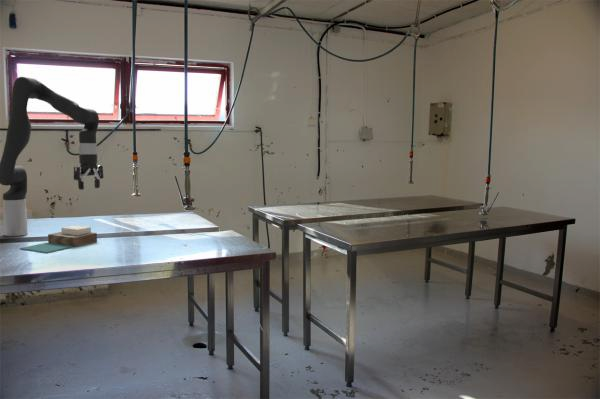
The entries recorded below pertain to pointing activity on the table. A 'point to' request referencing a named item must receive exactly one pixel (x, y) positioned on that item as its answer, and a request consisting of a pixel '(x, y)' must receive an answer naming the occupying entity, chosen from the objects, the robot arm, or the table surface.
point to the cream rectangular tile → (76, 230)
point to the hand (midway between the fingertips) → (89, 188)
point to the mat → (46, 247)
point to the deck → (72, 239)
